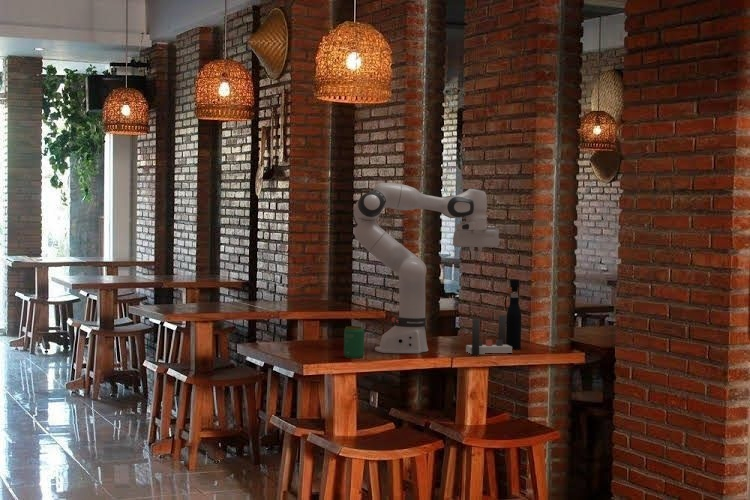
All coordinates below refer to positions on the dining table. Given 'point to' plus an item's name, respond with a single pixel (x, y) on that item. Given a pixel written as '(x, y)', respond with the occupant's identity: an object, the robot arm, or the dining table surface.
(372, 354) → the dining table surface
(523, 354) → the dining table surface
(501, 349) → the breaker box
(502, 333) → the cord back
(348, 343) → the beverage can
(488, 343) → the breaker paddles
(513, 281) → the wine bottle
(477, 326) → the dark grey tall bar
